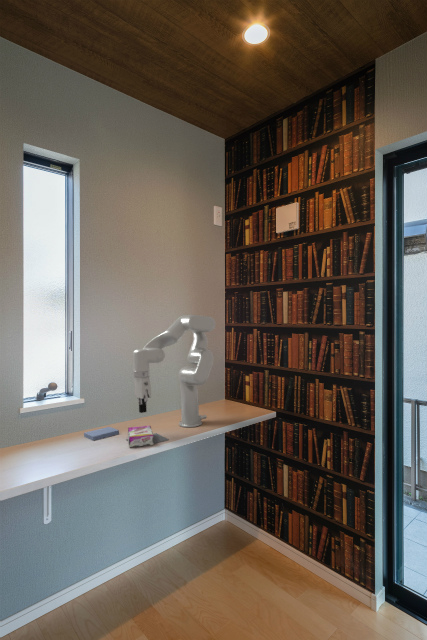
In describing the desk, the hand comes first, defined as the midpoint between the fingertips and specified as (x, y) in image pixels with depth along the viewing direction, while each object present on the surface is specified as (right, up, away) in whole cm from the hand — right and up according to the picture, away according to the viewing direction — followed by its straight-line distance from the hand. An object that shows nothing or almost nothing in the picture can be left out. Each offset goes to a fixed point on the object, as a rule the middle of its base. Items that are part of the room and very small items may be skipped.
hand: (142, 412), depth 180 cm
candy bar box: (-2, -10, +3) cm, 11 cm away
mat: (+3, -13, -4) cm, 13 cm away
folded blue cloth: (-22, -14, +7) cm, 27 cm away
